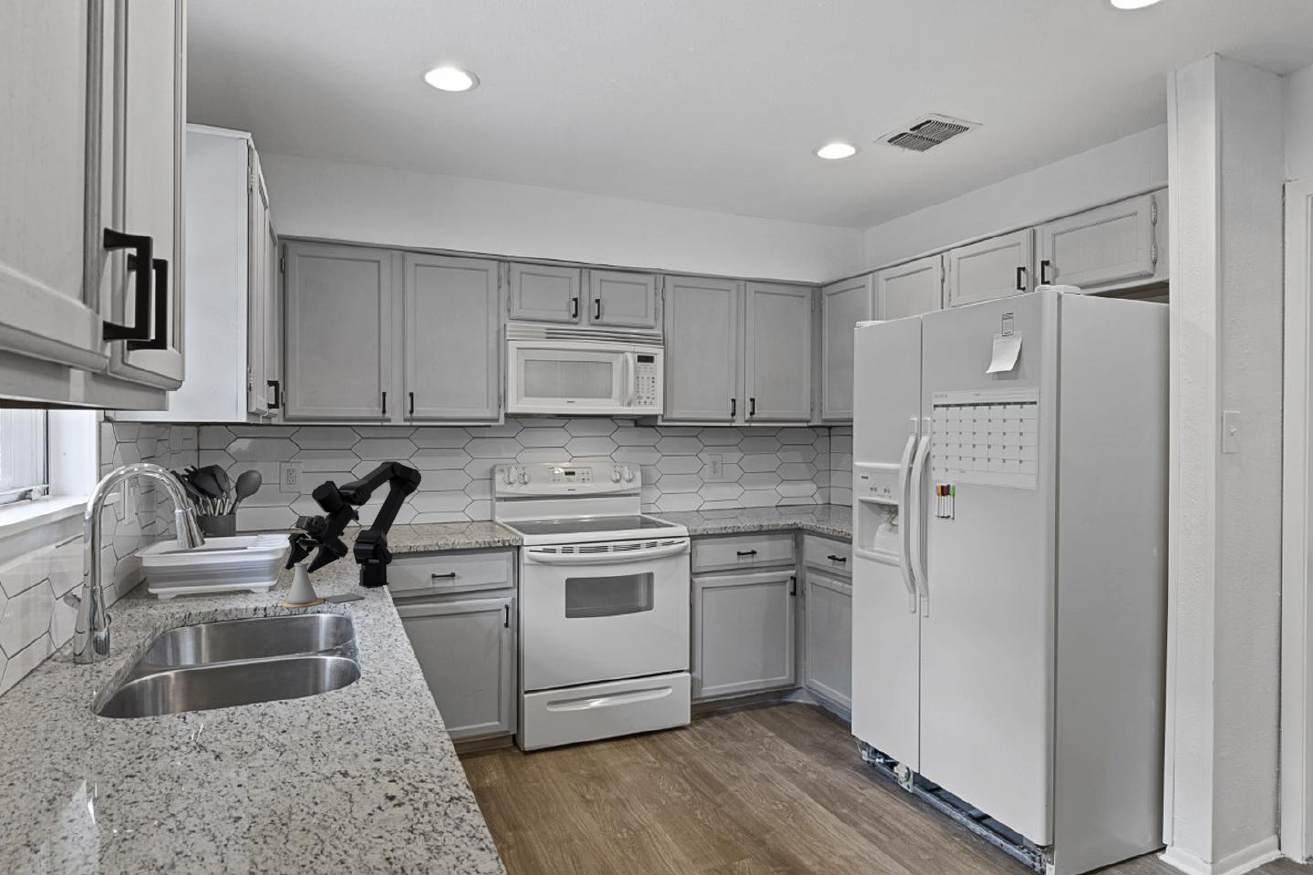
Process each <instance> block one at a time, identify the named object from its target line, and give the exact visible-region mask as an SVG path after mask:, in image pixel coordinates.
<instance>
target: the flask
mask: <svg viewBox="0 0 1313 875" xmlns="http://www.w3.org/2000/svg"><path fill="white" fill-rule="evenodd" d="M308 565H309V562H308V561H301V562H298V563H295V564H294V567H295V572H294V577H293V580H292V584H291V586H290V589H289V591H288V593H287V596H286V599H285V601H286V603H291V604H300V603H308V602H313V601H315V600H317V599H318V598H319V597H318V596H317V593H316V592H315V589H314V587H313V584H312V582H311V580H310V576H309V573H308V572H307V569H308Z"/></svg>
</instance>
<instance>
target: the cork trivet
mask: <svg viewBox="0 0 1313 875" xmlns="http://www.w3.org/2000/svg"><path fill="white" fill-rule="evenodd" d="M317 598H318V599H317V600H315V601H313V602H308V603H300V604H291V603H286V600H284V601H282V602H281V603H280V605H281V607H283V608H306V607H308V608H309V607H313V606H317V605H322V604H323V603H324V601H325V600H324V599H322V598H321V597H317Z"/></svg>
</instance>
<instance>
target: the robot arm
mask: <svg viewBox="0 0 1313 875" xmlns="http://www.w3.org/2000/svg"><path fill="white" fill-rule="evenodd" d="M421 474H422V473H420V472H419V470H418V469H416V468H413V467H410V466H407V465H405V464H402V463H400V462H398V461H397V460H394V461H391V460H390V461H388V460H386V461H382V463H381V464H380V465H378V466H377V467H376V468H375V469H373V470H371V471H370V472H369V473H368V474H366V475H365V476H362V478H360V479H358V480H355V481H351V482H347V483H345V484H343V485H341V486H340V487H338V486H337V484H336V483H335V481H334V480H326V481H325V482H324V483H322V484H320V485H319V486H317V487H316V488H314V489H313V490H312V493H311V497H312V498H313V500H314V502H316V504H317V505H318V506H319V507H320V508H321V510H322V511H323V512H324V513H325V514H326V513H327V515H326V516H322V515H317V514H316V515H314V516H308V515H299V516H298V518H297V521H296V523H295V525H294V527H295V528H296V529H301V530H303V531H306V533H305V532H297V531H296V532H291V534H290V535H289V536H288V538H287V540H288V543H289V545H290V547H291V548H290V549H291V550H290V554H289V556H288V559H287V562H286V564H285V569H286V570H287V571H289V570H291V569H293V568H294V567H295V566H294V564H295V563H298V562H303V561H304V560H305V559H306V558H308V557H309V556H310V553H311V552H313V551H314V550H315V548H318V552H317V554H316V555H315V557H314V558H313V560H312V562H311V563H309V566H308V567H307V572H308V575H309V574H310V575H311V574H313V573H314V572H316V571H317V570H320V569H321V568H323V567H325V566H327V565H329V564H331V563H333V562H336V561H337V560H338V561H339V560H340V559H341V558H342V559H344V558H345V557H346V556H347V555H348V553H349V546H348V545H346V543H344V541H342V540H341V538H339V537H344V535H345V534H346V533H345V532H344V530H345V528H346V527H347V526H348V525H349V523H350V522H351V521H355V522H358V521H360V515H359V510H356V509H354V508H353V507H363V506H364V505H366V503H368V501H369V500H370V499H371V498H372V494H373V492H374V491H375V490H377V489H378V488H380V487H381V486H382V485H384V484H385V483H386V482H388V481H389V482H388V485H389V492H388V494H387V496H386V498H385V500H384V502H383V503H382V506H381V508H380V510H379V511H378V513H377V515H376V517H375V518H374V520H373V523H372V524H371V526H370V528H369V529H360V531H359V533H358V535H357V537H356V539H354V544H353V548H352V552H353V556H354V561H355V562H356V563H355V564H356V565H360V569H359V573H358V574H359V575H358V576H359V583H358V585H359V586H361V587H364V588H367V589H368V588H375V587H381V586H383V587H384V586H389V585H390V582H387V581H388V576H387V574H388V570H387V568H388V567H387V565H389V564H391V563H392V560H393V554H392V553H391V552H390V551H389V549H388V546H389V543H388V538H387V535H388V534H389V531H390V529H391V527H392V526H393V523H394V521H395V520H396V518H397V516H398V513H399V511H400V509H401V508H402V506H403V504H404V502H405V501H406V498H407V497H408V496H410V495H411V494H413V493H415V492H416V490H417V488H418V487H419V486H420V484H421V481H422V475H421ZM352 506H353V507H352Z"/></svg>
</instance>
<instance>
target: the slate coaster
mask: <svg viewBox="0 0 1313 875" xmlns="http://www.w3.org/2000/svg"><path fill="white" fill-rule="evenodd" d="M365 598H366V597H364V596H362V595H358V594H356V593H354V592H351V593H344V594H337V595H329V596H323V597H322V599H324V601H326V602H328V603H331V604H333V605H334V604H335V605H336V604H341V603H343V604H344V603H348V602H353V601H354V602H356V601H361V600H365Z"/></svg>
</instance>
